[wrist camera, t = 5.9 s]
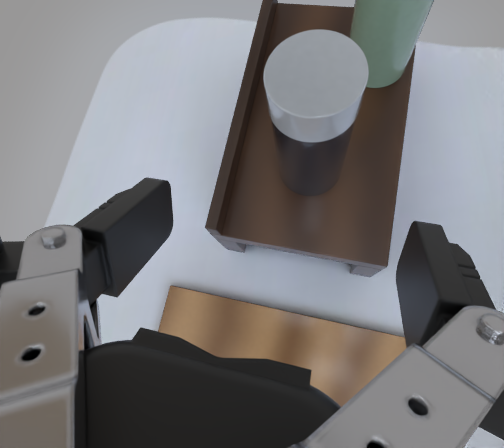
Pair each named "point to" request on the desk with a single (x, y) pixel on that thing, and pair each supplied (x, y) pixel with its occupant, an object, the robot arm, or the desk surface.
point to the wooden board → (282, 339)
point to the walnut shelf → (352, 176)
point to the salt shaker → (387, 35)
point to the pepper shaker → (314, 106)
